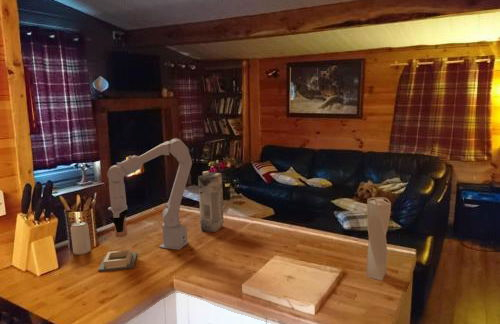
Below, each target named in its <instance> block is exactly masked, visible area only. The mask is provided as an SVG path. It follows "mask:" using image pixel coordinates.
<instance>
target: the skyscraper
mask: <svg viewBox="0 0 500 324" xmlns="http://www.w3.org/2000/svg"><path fill="white" fill-rule="evenodd" d="M385 200H386V201H385ZM366 201H367V202H366V222H367V223H366V224H367V232H368V233H367V234H368V241H367V242H368V243H367V251H366V269H365V270H366V271H365V275H366V276H365V277H366V278H368V279H373V280H377V281H381V282H383V281H384V278H385V276H386V275H387V268H388V245H387V244H388V243H387V232H388V228H389V223H390V217H391V211H392V210H391V208H392V203H391V201H390V200H389V198H387V197H381V196H379V197H369V198H367V200H366Z"/></svg>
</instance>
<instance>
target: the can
mask: <svg viewBox="0 0 500 324" xmlns="http://www.w3.org/2000/svg"><path fill="white" fill-rule="evenodd" d="M83 221H84V220H83ZM76 222H77V221H75V222H72V223H71V226H70V237H71V244H72V245H71V246H72V253H73V254H74V255H77V256H81V255H85V254H88V253H90V251H91V240H90V239H91V238H90V230H89V224H88V223H87V221H84V222H81V223H76Z"/></svg>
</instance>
